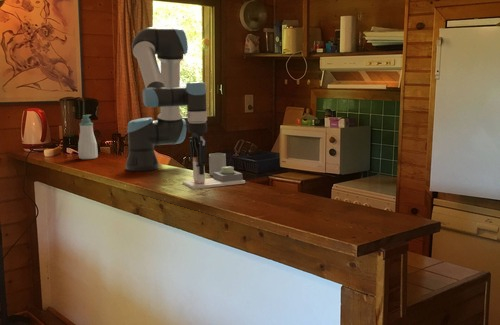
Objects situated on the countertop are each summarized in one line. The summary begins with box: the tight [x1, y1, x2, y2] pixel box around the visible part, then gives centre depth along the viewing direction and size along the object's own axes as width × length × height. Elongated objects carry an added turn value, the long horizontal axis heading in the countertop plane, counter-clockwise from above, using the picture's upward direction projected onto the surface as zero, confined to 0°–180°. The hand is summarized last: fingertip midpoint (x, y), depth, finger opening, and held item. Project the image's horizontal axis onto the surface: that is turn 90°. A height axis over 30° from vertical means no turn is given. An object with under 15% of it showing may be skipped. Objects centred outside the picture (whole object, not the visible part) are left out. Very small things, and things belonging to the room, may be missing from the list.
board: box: [182, 170, 246, 190], centre depth 225 cm, size 12×22×4 cm, turn 116°
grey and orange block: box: [192, 157, 206, 183], centre depth 222 cm, size 4×4×10 cm
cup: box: [208, 152, 227, 177], centre depth 245 cm, size 7×10×9 cm
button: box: [221, 165, 235, 175], centre depth 228 cm, size 5×5×3 cm
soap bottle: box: [77, 114, 99, 160], centre depth 298 cm, size 10×10×23 cm
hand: (199, 181), depth 223 cm, fingers closed on grey and orange block, 3 cm apart
